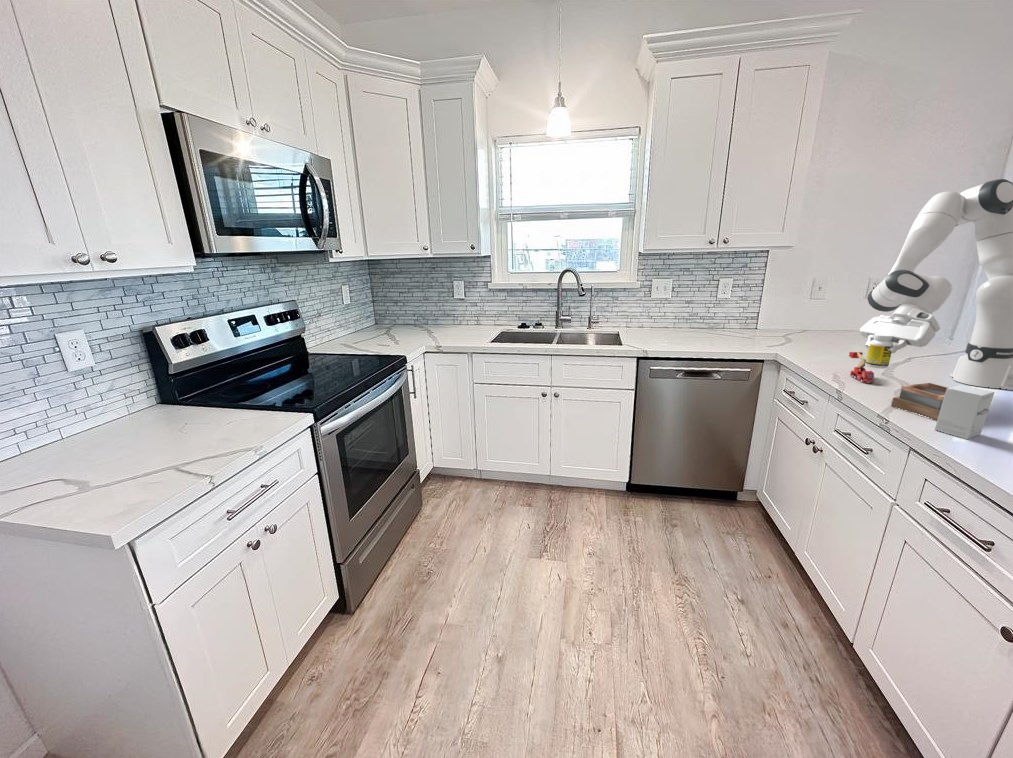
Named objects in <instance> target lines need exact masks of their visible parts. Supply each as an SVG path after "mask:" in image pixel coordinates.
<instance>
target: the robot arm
mask: <svg viewBox="0 0 1013 758" xmlns="http://www.w3.org/2000/svg"><path fill="white" fill-rule="evenodd" d="M968 223H973V224H974V235H975V236H974V238H975V244H976V250H977V257H978V262H979V265H980V266H981V267H982V269H983V271H984V273H985V276H986V279H987V280H986V281H985V282H984V283H982V284H981V285H979V287H978V288H977V290H976V293H975V297H976V307H975V308H976V309H975V322H974V326H973V330H972V333H971V335H970V339H969V342H968V343H967V345H966V347H965V350H964V353H965V354H963V355H961V356H960V357H959V359H958V360H957V361H958V362H957V363H956V365H955V369H954V371H953V372H950V373H949V375H950V376H949V377H951V378H952V377H953V378H952V380H954V381H955V382H958V383H962V384H965V385H970V386H975V387H980V388H988V387H989V388H990V389H999V388H1001V390H1006V389H1007V391H1013V182H1011V181H1010V180H1008V179H1004V178H1001V179H994V180H993V179H992V180H990V181H986V182H984V183H983V184H982V183H981V184H979V185H975V186H973V187H970V188H967V189H965V190H963V191H962V192H956V191H941V192H939V193H937V194H935V195H933V196H932V197H931V198H930V199H929V200H928V201H927V203H925V205H924V206H923V207H922V208H921V209H920V211H919V213H918V214H917V216H916V218H915V219H914V221H913V222H912V224H911V227H910V229H909V231H908V234H907V236H906V238H905V241H904V244H903V246H902V247H901V250H900V252H899V254H898V257H897V258H896V260H895V262H894V263H893V265H892V267H891V269H890V270H889V271H888V273H887V275H886V276H885V278H883V280H881V282H879V284H877V286H876V287H874V288H873V289H872V290H871V291H869V293H868V295H867V302H868V304H869V306H870V307H871V308H872V309H874V310H876V311H879V312H883V313H886V312H887V313H888V312H893V313H891V314H890V315H883V314H881V315H877V316H874V317H872V318H871V319H869V320H868V321H867V322H866V323H865V324H863V325H862V326H861V327H860V329H859V333H860V335H861V336H862V337H863V338H866V339H867V342H866V343H865V344H864V347H865V348H866V349H868V348H869V344H870V342H871V341H872V340H874V334H887V335H892V339H891V340H890V341H891V342H892V343H893V346H890V348H888V351H889V352H890V353H891V354H896V352H897V351H899V350H901V349H904V348H906V347H907V346H911V347H912V346H913V347H916V348H917V347H918V348H922V347H923V348H924V347H926V346H927V345H928V344H930V342H931V341H932V340H933V339H934V338H935V335H936V333H937V332H939V331H940V329H941V327H940V325H939V322H938V320H937V319H936V318H935V316H934V315H933V314H934V313H935V312H936V311H938V310H939V309H940V308H941V307H942V306H943V305H944V304H945V303H946V301H947V300H948V299H949V298H950V296H951V294H952V292H953V285H952V283H951V282H950V281H949V280H948V279H947V278H945V277H943V276H940V275H922V274H918V273H916V272H914V271H915V270H916V268H917V267H918V266H919V265H920V263H921V264H922V262H923V261H924V260H925V259H927V258H928V257H929V255H930V254H932V253H933V252H934V251H936V250H937V249H938V247H940V246H941V245H942V244H943V243H944V242H945V241H946V240H947V239H948V238H949V236H950V235H951V234H952V233H953V231H954V230H955V228H956V227H958V226H960V225H964V224H968ZM895 343H896V344H895ZM989 388H988V389H989Z"/></svg>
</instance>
